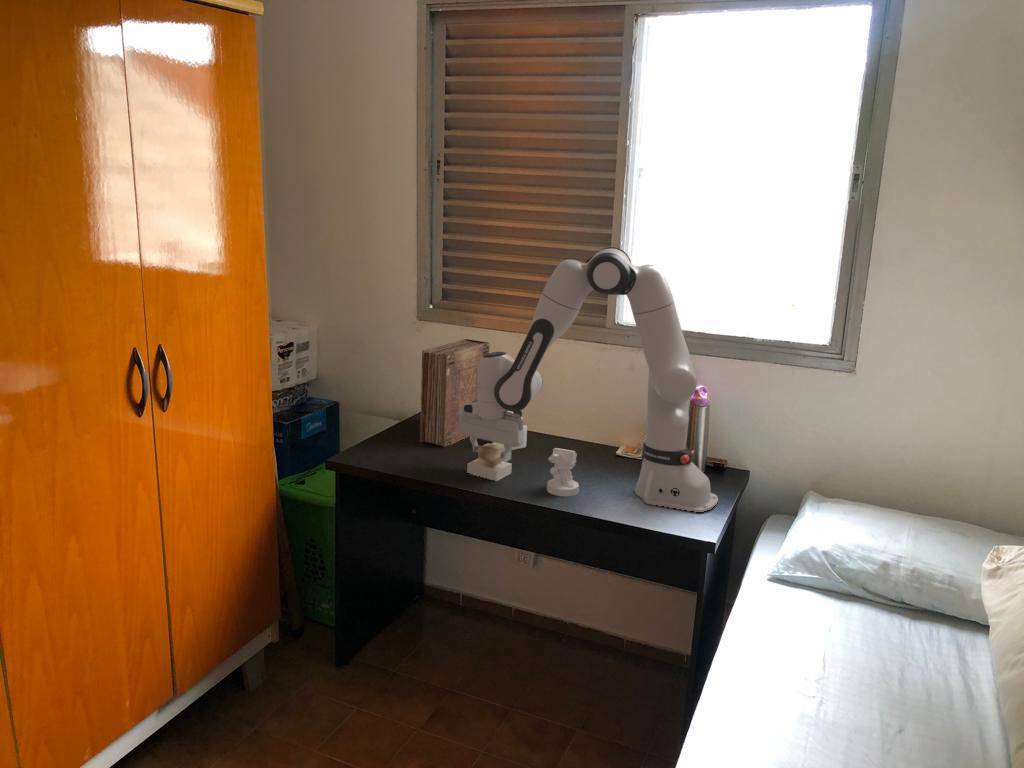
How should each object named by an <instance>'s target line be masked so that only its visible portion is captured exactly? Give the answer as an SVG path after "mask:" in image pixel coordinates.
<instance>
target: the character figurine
mask: <svg viewBox="0 0 1024 768" xmlns="http://www.w3.org/2000/svg"><path fill="white" fill-rule="evenodd" d="M577 456H578V455H577V453H576V451H575V450H571V449H565V448H559V447H555V448H552V454H551V455H550V456H549V457H548V459H547V460H548V461H550V463H551V464H554V465H553V467H551V468H550V469H549V473H550V475H552V479H549V480H547V483H546V491H547V493H549V494H551V495H553V496H557V497H574V496H576V495H578V494H579V491H580V484H579V483H578V482H577V481H576V480H573V477H574V476H573V475H572V472H571V470H572V469H573V468H575V467H576V463H577Z"/></svg>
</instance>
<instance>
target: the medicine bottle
mask: <svg viewBox="0 0 1024 768" xmlns="http://www.w3.org/2000/svg"><path fill="white" fill-rule="evenodd" d="M508 412H511V411H508ZM511 413H514V414H519V415H520V416H521V417H522V418H523V411H522V410H520V411H517V412H511ZM519 418H520V417H519ZM523 430H524V442H523V444H522V445H520V446H518V447H512V450H511V451H514V450H518V449H523V448H524V449H525V448H526V447H527V439H528V437H527V436H528V435H527V434H528V426H527V425H525V424H524V426H523Z"/></svg>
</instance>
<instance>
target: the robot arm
mask: <svg viewBox="0 0 1024 768" xmlns="http://www.w3.org/2000/svg"><path fill="white" fill-rule="evenodd" d="M592 291H595V292H596V293H599V294H601V295H608V296H613V295H614V296H615V295H616V296H617V295H618V296H626V297H627V299H628V302H629V304H630V305H629V306H630V308H631V313H632V315H633V319H634V320H633V321H634V323H635V327H636V330H637V333H638V337H639V341H640V344H641V347H642V351H643V354H644V358H645V360H646V363H647V367H648V379H647V380H648V383H647V411H646V412H647V415H646V427H645V439H644V441H643V445H642V449H641V467H640V468H641V469H640V472H639V477H638V480H637V483H636V485H635V488H634V493H635V495H637V496H638V497H639V498H641V499H642V500H643V502H644V503H645V504H646V505H650V504H651V505H652V506H656V505H658V506H657V507H662V506H664V507H663V508H667V507H669V508H668V509H673V508H676V509H675V510H679V509H681V510H680V511H684V510H687V511H686V512H690V511H694V512H693V513H696V512H703V511H707V510H709V509H711V508H713V507H714V506H715V505H716V504H717V502H718V503H719V497H718V496H717V495H716V494H715V493H713V492H711V491H712V490H711V482H710V479H709V477H708V476H707V475H706V474H705V473H704V472H703V471H702V470H701V469H700V468H698V466H697V465H696V464H695V463H694V462H693V461H692V459H693V456H694V455H695V454H694V453H695V450H694V449H693V450H690V449H689V448H688V446H687V441H688V440H687V439H688V431H689V429H688V428H689V421H690V416H689V400H690V399H691V398H692V397H693V396H694V394H695V392H696V388H697V375H696V371H695V368H694V365H693V362H692V358H691V355H690V352H689V348H688V345H687V343H686V339H685V337H684V333H683V330H682V327H681V323H680V319H679V316H678V315H679V314H678V312H677V308H676V307H677V306H676V303H675V300H674V297H673V294H672V291H671V288H670V286H669V283H668V281H667V279H666V276H665V275H664V272H663V271H662V269H661V268H660V267H659V266H657V265H654V264H643V265H640V266H637V265H634V264H632V261H631V258H630V257H629V255H628V254H627V252H625V250H623V249H621V248H618V247H611V246H609V247H606V248H605V247H604V248H602V249H601V250H599V251H598V252H596V253H595V254H594V255H593V256H591V257H590V258H588V259H587V260H585V262H582V261H579V260H576V259H565V260H562V261H560V263H558V265H557V266H556V268H555V269H554V270H553V272H552V273H551V276H550V277H549V278H548V280H547V282H546V283H545V287H544V288H543V290H542V293H541V295H540V297H539V300H538V302H537V305H536V308H535V311H534V314H533V317H532V319H531V322H530V326H529V328H528V330H527V334H526V336H525V338H524V341H523V343H522V345H521V347H520V348H519V351H518V352H517V354H516V357H515V359H514V358H513V357H512V356H510V354H508V353H507V352H505V351H492V352H489V353H488V354H486V355H484V356H483V357H482V358H481V359H480V362H479V368H478V379H477V384H478V394H477V400H473V401H470V402H467V403H465V404H463V405H461V410H462V411H463V412H462V413H461V414H460V418H459V432H460V433H461V434H462V435H466V436H470V437H469V442H470V444H471V445H472V452H473V453H478V447H481V445H479V444H478V441H477V440H478V439H480V440H483V441H488V442H491V443H493V442H496V443H500V444H504V448H506V449H505V451H503V452H501V456H500V458H502V459H507V458H508V452H509V451H510V449H511V448H512V447H518V446H520V445H522V444H523V442H524V430H523V426H524V425H525V424H524V423H525V421H524V418H523V416H522V417H521V416H520V415H519V414H514V413H511V412H517V411H522V410H524V409H525V408H526V407H527V406H528V405H529V403H530V402H531V401H532V400H534V399H535V398H536V397H537V396H538V395H539V393H541V391H542V389H543V385H544V382H543V376H542V374H541V372H539V371H538V368H539V366H540V364H541V362H542V360H543V358H544V356H545V354H546V353H547V352H548V350H549V348H550V347H551V346H552V345H553V344H554V343H555V342H556V340H557V341H558V339H559V338H561V336H562V335H563V334H565V333H566V332H567V331H568V330H569V329H570V327H571V326H572V324H573V323H574V321H575V320H576V318H577V317H578V315H579V313H580V310H581V308H582V306H583V304H584V302H585V300H586V298H587V296H588V295H589V293H590V292H592ZM508 411H511V412H508ZM519 417H520V418H519ZM717 505H718V504H717ZM717 505H716V506H717ZM716 506H715V507H716ZM715 507H714V508H715ZM714 508H713V509H714Z"/></svg>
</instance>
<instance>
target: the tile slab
mask: <svg viewBox="0 0 1024 768" xmlns="http://www.w3.org/2000/svg"><path fill="white" fill-rule="evenodd" d="M466 465H467V466H466V474H467V473H470V474H469V475H471V474H473V475H472V476H475V475H476V476H475V477H479V476H480V477H479V478H482V477H483V478H484V479H486V478H487V479H486V480H491V481H493V480H494V482H498V481H499V480H501V479H504V478H505V477H507V476H509V475H512V469H513V466H512V465H513V464H512V463H510V462H508V461H507V462H504V461H502V463H501V464H499V465H497V466H495V467H493V468H491V467H487V466H484V465H480V464H478V458H476V459H474V460H472V461H469V462H468V463H466ZM483 478H482V479H483Z"/></svg>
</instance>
